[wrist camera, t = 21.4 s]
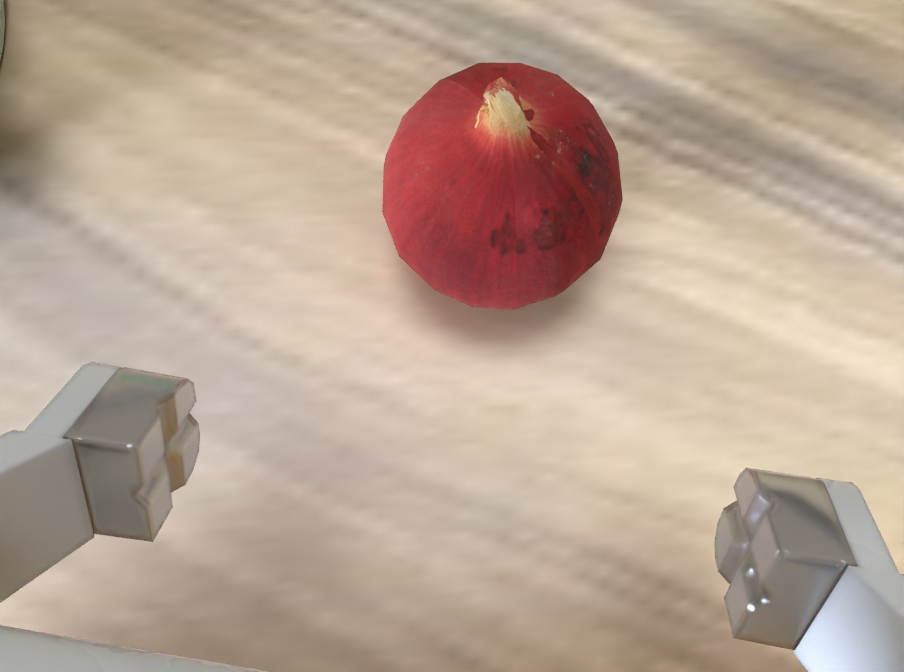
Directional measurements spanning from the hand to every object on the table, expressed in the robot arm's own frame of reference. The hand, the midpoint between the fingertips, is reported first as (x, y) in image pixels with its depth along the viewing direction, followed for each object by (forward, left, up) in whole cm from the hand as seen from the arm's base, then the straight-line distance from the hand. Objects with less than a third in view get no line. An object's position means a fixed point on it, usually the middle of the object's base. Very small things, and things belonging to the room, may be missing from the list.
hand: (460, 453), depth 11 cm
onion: (+5, +5, -10) cm, 12 cm away
